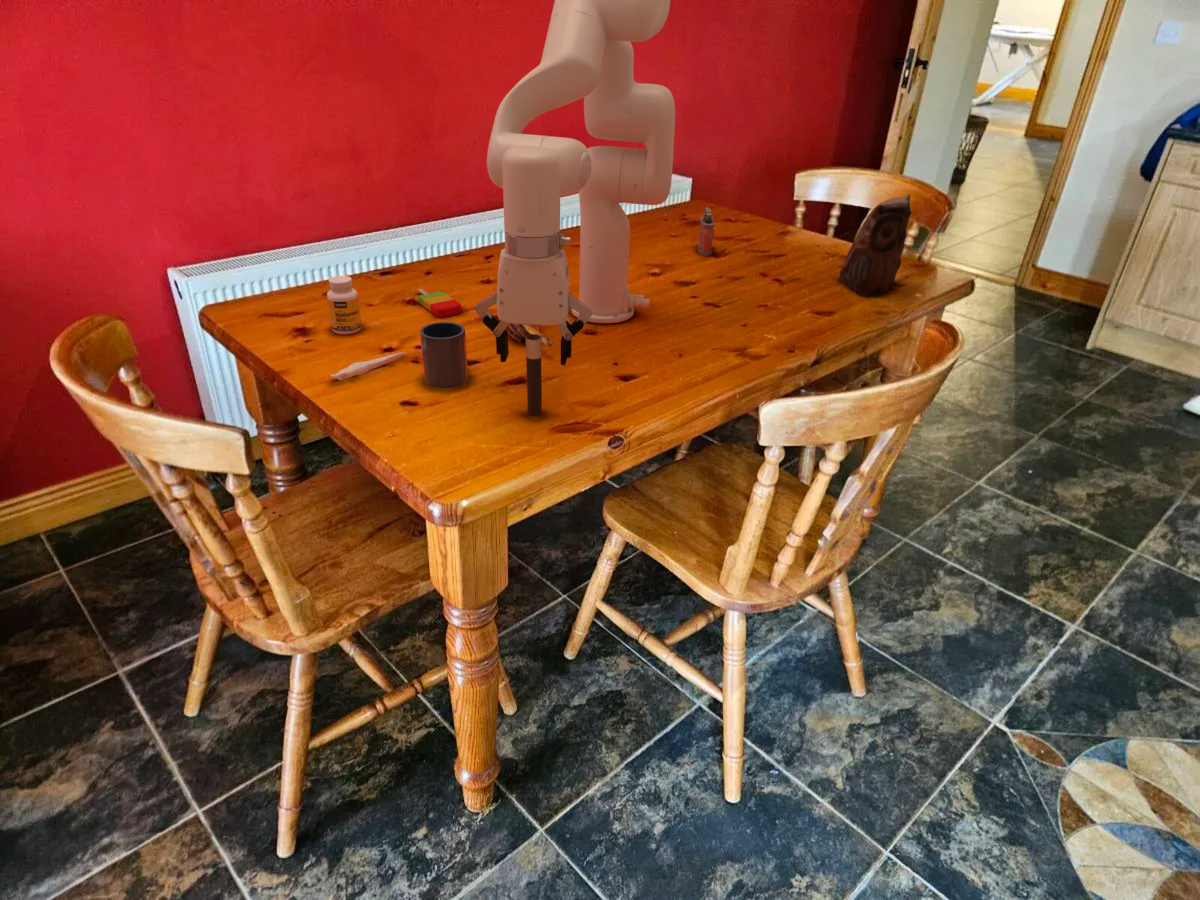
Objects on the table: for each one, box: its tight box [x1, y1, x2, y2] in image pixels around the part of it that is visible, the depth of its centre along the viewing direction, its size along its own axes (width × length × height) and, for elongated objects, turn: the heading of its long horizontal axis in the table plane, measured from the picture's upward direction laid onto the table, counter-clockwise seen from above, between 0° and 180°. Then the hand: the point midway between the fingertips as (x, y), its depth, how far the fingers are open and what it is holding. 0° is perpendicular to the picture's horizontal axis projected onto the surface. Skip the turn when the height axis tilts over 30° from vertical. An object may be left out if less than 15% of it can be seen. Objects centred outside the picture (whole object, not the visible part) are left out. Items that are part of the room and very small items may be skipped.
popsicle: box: [416, 288, 463, 318], centre depth 160 cm, size 6×15×2 cm, turn 35°
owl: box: [837, 193, 912, 298], centre depth 171 cm, size 13×13×20 cm
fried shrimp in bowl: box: [506, 323, 554, 349], centre depth 144 cm, size 9×11×18 cm
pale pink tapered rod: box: [330, 351, 408, 381], centre depth 133 cm, size 15×3×2 cm, turn 139°
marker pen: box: [525, 334, 543, 418], centre depth 118 cm, size 2×2×13 cm
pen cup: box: [419, 321, 469, 389], centre depth 128 cm, size 7×7×9 cm
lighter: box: [697, 206, 716, 257], centre depth 194 cm, size 8×3×10 cm, turn 179°
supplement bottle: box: [326, 275, 362, 335], centre depth 145 cm, size 5×5×10 cm
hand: (534, 359), depth 117 cm, fingers open, 8 cm apart
